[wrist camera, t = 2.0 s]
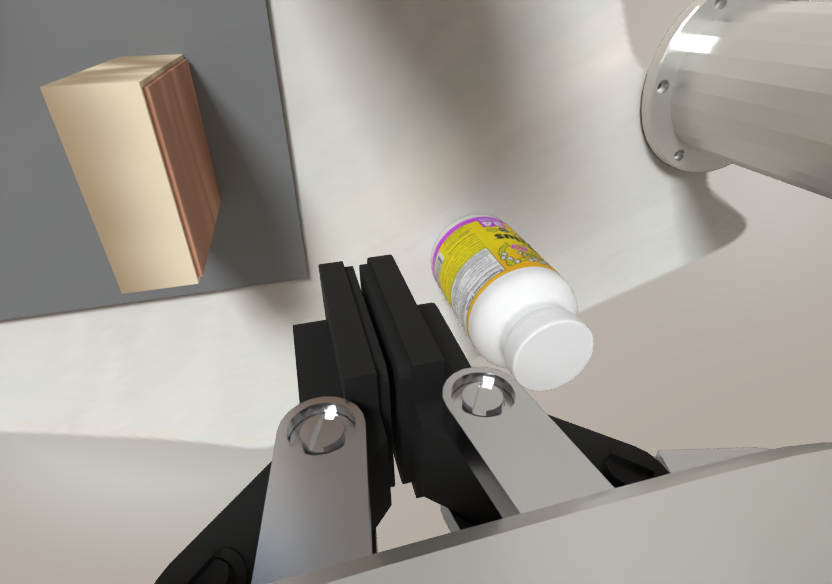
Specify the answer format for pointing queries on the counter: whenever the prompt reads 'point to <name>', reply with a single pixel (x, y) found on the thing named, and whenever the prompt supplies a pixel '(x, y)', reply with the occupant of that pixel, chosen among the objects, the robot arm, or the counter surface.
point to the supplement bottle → (511, 302)
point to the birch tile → (141, 166)
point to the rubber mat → (224, 126)
